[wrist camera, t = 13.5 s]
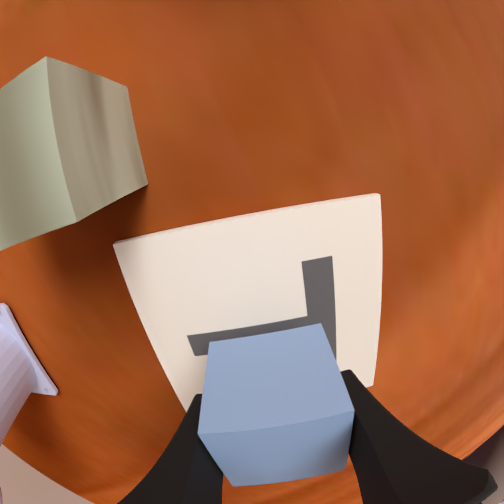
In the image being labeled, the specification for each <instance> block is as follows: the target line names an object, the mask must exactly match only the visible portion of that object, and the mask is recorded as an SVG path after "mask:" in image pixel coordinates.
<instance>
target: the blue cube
mask: <svg viewBox="0 0 504 504" xmlns="http://www.w3.org/2000/svg"><path fill="white" fill-rule="evenodd" d="M353 418H354V407H353V405H352V402H351V399H350V396H349V394H348V391H347V388H346V386H345V383H344V380H343V378H342V375H341V373H340V370H339V367H338V365H337V362H336V360H335V357H334V354H333V352H332V349H331V347H330V344H329V342H328V339H327V337H326V334H325V332H324V329H323V327H322V324H321V323H319V324H314V325H309V326H304V327H299V328H294V329H289V330H283V331H278V332H272V333H266V334H260V335H254V336H248V337H242V338H235V339H228V340H221V341H213V342H209V349H208V356H207V363H206V371H205V378H204V386H203V394H202V402H201V410H200V418H199V426H198V435H199V437H200V439H201V440H202V442H203V443H204V445H205V446H206V448H207V450H208V451H209V453H210V454H211V456H212V457H213V459H214V460H215V462H216V463H217V465H218V466H219V468H220V469H221V471H222V472H223V473H224V475H225V476H226V478H227V479H228V480H229V482H230V483H231V485H232V486H233V487H235V486H250V485H262V484H271V483H279V482H286V481H293V480H299V479H305V478H310V477H315V476H320V475H325V474H329V473H333V472H338V471H342V470H345V469H346V464H347V458H348V452H349V446H350V440H351V433H352V426H353Z"/></svg>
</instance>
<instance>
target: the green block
mask: <svg viewBox="0 0 504 504" xmlns="http://www.w3.org/2000/svg"><path fill="white" fill-rule="evenodd" d="M146 185H148V181H147V177H146V173H145V169H144V165H143V161H142V157H141V152H140V148H139V144H138V139H137V135H136V130H135V125H134V120H133V115H132V110H131V105H130V100H129V95H128V89H127V87H126V86H124V85H121V84H119V83H117V82H114V81H112V80H109V79H107V78H105V77H102V76H100V75H97V74H95V73H92V72H89V71H87V70H84V69H81V68H79V67H76V66H73V65H71V64H68V63H65V62H62V61H59V60H56V59H53V58H50V57H47V56H46V57H44V58H43V59H41V60H40V61H38V62H37V63H35V64H34V65H32V66H31V67H29V68H28V69H26V70H25V71H24V72H22V73H21V74H19V75H18V76H17V77H15V78H14V79H13V80H11V81H10V82H9V83H7V84H6V85H5V86H4V87H2V88H1V89H0V251H1V250H3V249H5V248H8V247H10V246H13V245H15V244H18V243H21V242H23V241H26V240H28V239H31V238H34V237H36V236H39V235H42V234H44V233H47V232H50V231H53V230H56V229H58V228H61V227H64V226H67V225H70V224H73V223H76V222H78V221H80V220H82V219H83V218H85V217H87V216H89V215H90V214H92V213H94V212H96V211H98V210H99V209H101V208H103V207H105V206H107V205H109V204H110V203H112V202H114V201H116V200H118V199H120V198H122V197H124V196H126V195H128V194H130V193H132V192H134V191H136V190H138V189H140V188H142V187H144V186H146Z"/></svg>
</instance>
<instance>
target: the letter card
mask: <svg viewBox="0 0 504 504" xmlns="http://www.w3.org/2000/svg"><path fill="white" fill-rule="evenodd" d="M113 247H114V250H115V253H116V256H117V259H118V262H119V265H120V268H121V271H122V274H123V276H124V279H125V282H126V284H127V287H128V290H129V292H130V295H131V297H132V300H133V302H134V305H135V307H136V310H137V312H138V315H139V317H140V319H141V322H142V324H143V326H144V329H145V331H146V333H147V336H148V338H149V340H150V342H151V344H152V347H153V349H154V351H155V353H156V355H157V357H158V359H159V361H160V363H161V365H162V367H163V369H164V371H165V373H166V375H167V377H168V379H169V381H170V383H171V385H172V387H173V389H174V391H175V393H176V395H177V396H178V398H179V400H180V402H181V404H182V406H183V407H184V409H185V411H186V412H187V410H188V408H189V406H190V404H191V402H192V400H193V398H194V396H195V395H196V394H203V386H204V378H205V371H206V363H207V356H208V349H209V342H213V341H221V340H228V339H235V338H242V337H248V336H254V335H260V334H266V333H272V332H278V331H283V330H289V329H294V328H299V327H304V326H309V325H314V324H319V323H321V324H322V327H323V329H324V332H325V334H326V337H327V339H328V342H329V344H330V347H331V349H332V352H333V354H334V357H335V360H336V362H337V365H338V367H339V370H340V371H344V370H348V369H350V370H352V371H353V373H354V374H355V375H356V376H357V378H358V379H359V380H360V381H361V383H362V384H363V385H364V386H365V387H370V386H373V381H374V374H375V366H376V358H377V349H378V338H379V327H380V312H381V293H382V220H381V201H380V194H377V193H373V194H366V195H359V196H352V197H346V198H339V199H333V200H326V201H320V202H314V203H308V204H301V205H296V206H290V207H284V208H278V209H272V210H267V211H261V212H256V213H250V214H245V215H239V216H234V217H229V218H224V219H219V220H214V221H209V222H204V223H199V224H194V225H189V226H184V227H179V228H174V229H170V230H165V231H160V232H156V233H151V234H147V235H142V236H138V237H133V238H129V239H125V240H120V241H116V242H115V243H114V244H113Z"/></svg>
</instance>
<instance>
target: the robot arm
mask: <svg viewBox="0 0 504 504" xmlns="http://www.w3.org/2000/svg"><path fill="white" fill-rule="evenodd" d="M340 373H341V375H342V378H343V380H344V383H345V386H346V388H347V391H348V394H349V396H350V399H351V402H352V405H353V407H354V418H353V426H352V433H351V440H350V446H349V452H348V453H349V455H350V458H351V461H352V463H353V466H354V469H355V472H356V475H357V478H358V483H359V487H360V491H361V496H362V500H363V504H482V503H481V502H482V501H483V500H485V499H486V498H487V497H488V496H490V495H491V494H492V493H493V492H495V491H496V490H497V488H498V486H497V484H496V482H495V480H494V478H493V476H492V475H491V474H490V472H489V471H488V470H487V469H484V468H481V467H478V466H475V465H472V464H470V463H467V462H465V461H462V460H460V459H458V458H456V457H454V456H451V455H450V454H448V453H446V452H444V451H442V450H440V449H439V448H437V447H435V446H433V445H431V444H430V443H428V442H427V441H425V440H424V439H422V438H421V437H419V436H418V435H416V434H415V433H414V432H412V431H411V430H410V429H408V428H407V427H406V426H405V425H403V424H402V423H401V422H400V421H399V420H398V419H396V418H395V417H394V416H393V415H392V414H391V413H390V412H389V411H388V410H387V409H386V408H385V407H384V406H383V405H382V404H381V403H380V402H379V401H378V400H377V399H376V398H375V397H374V396H373V395H372V394H371V393H370V392H369V391H368V390H367V388H366V387H365V386H364V385H363V384H362V383H361V381H360V380H359V379H358V378H357V376H356V375H355V374H354V373H353V371H352V370H350V369H348V370H344V371H340ZM31 392H33V393H40V394H47V395H57V393H58V389H57V388H56V386H55V385H54V383H53V382H52V381H51V379H50V378H49V376H48V375H47V373H46V372H45V370H44V369H43V367H42V366H41V364H40V362H39V361H38V359H37V358H36V356H35V354H34V353H33V351H32V349H31V348H30V346H29V344H28V343H27V341H26V339H25V337H24V336H23V334H22V332H21V330H20V328H19V326H18V324H17V323H16V321H15V319H14V317H13V315H12V313H11V311H10V309H9V307H8V306H7V305H6V304H5V303H0V446H1V444H2V442H3V440H4V438H5V436H6V434H7V433H8V431H9V429H10V427H11V425H12V424H13V422H14V420H15V418H16V417H17V415H18V413H19V411H20V410H21V408H22V406H23V405H24V403H25V401H26V400H27V398H28V397H29V395H30V393H31ZM201 402H202V394H196V395H195V396H194V398H193V400H192V402H191V404H190V406H189V408H188V410H187V412H186V414H185V416H184V418H183V420H182V422H181V424H180V426H179V428H178V429H177V431H176V433H175V435H174V436H173V438H172V440H171V441H170V443H169V445H168V446H167V448H166V449H165V451H164V452H163V454H162V455H161V457H160V458H159V460H158V461H157V462H156V464H155V465H154V466H153V468H152V469H151V470H150V471H149V473H148V474H147V475H146V476H145V477H144V478H143V479H142V481H141V482H140V483H139V484H138V485H137V486H136V487H135V488H134V489H133V490H132V491H131V492H130V493H129V494H128V495H127V496H126V497H125V498H123V499H122V500H121V501H120V502H119V503H118V504H222V483H223V472H222V471H221V469H220V468H219V466H218V465H217V463H216V462H215V460H214V459H213V457H212V456H211V454H210V453H209V451H208V450H207V448H206V446H205V445H204V443H203V442H202V440H201V439H200V437H199V435H198V426H199V418H200V410H201ZM0 504H2V493H1V488H0ZM498 504H504V500H502V501H501V502H500V503H498Z"/></svg>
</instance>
